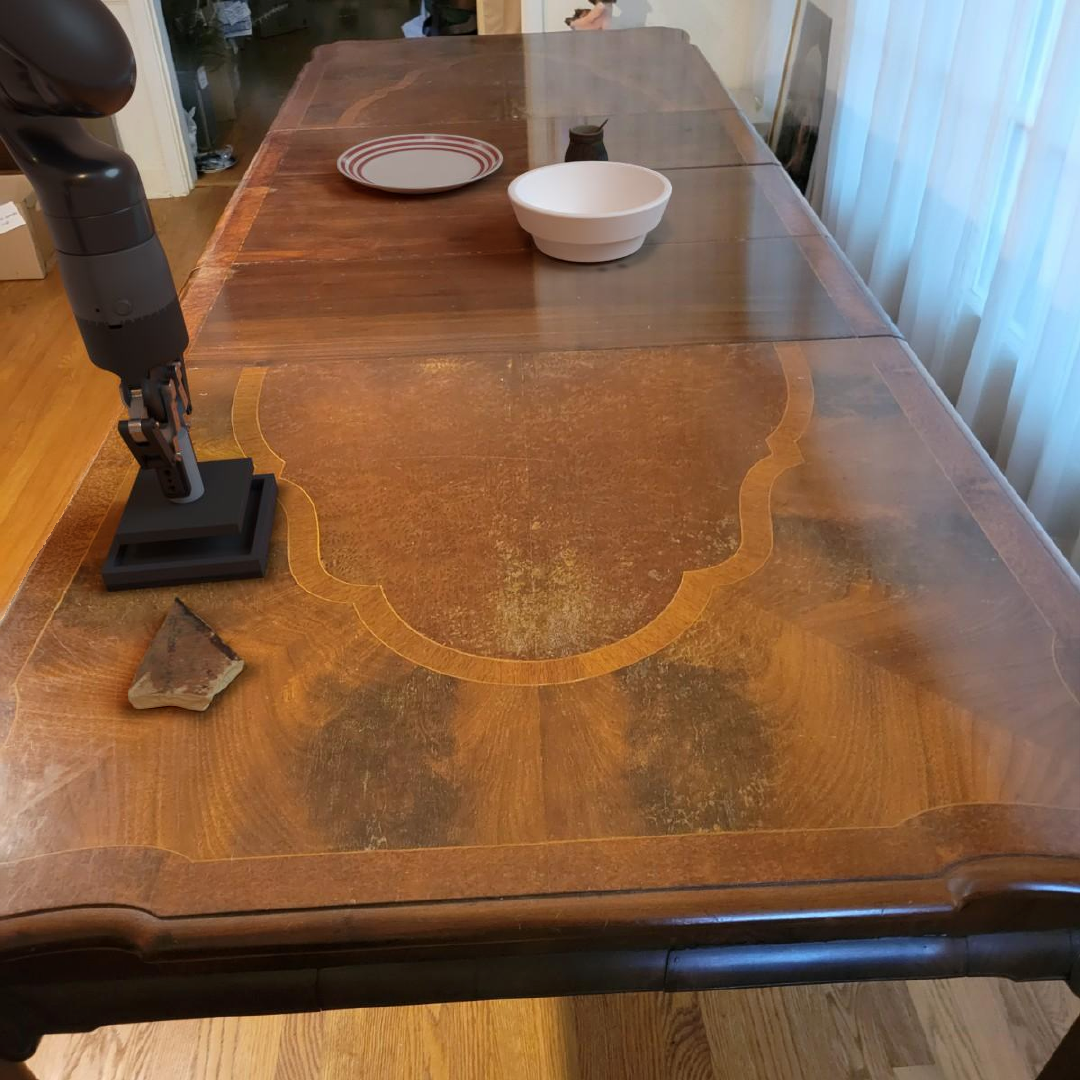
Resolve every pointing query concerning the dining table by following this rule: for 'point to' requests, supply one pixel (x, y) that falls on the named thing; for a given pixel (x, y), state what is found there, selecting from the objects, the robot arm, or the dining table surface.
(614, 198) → the bowl
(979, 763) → the dining table surface
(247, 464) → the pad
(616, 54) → the dining table surface
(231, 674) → the shard
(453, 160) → the dinner plate
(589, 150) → the mate gourd
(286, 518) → the dining table surface
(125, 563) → the base pad
